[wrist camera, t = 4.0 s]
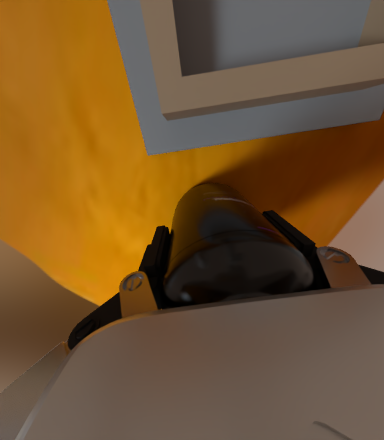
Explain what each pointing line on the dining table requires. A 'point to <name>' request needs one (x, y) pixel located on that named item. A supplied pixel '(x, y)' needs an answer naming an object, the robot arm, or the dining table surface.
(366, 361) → the robot arm
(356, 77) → the bottle stand
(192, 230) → the supplement bottle
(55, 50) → the dining table surface
